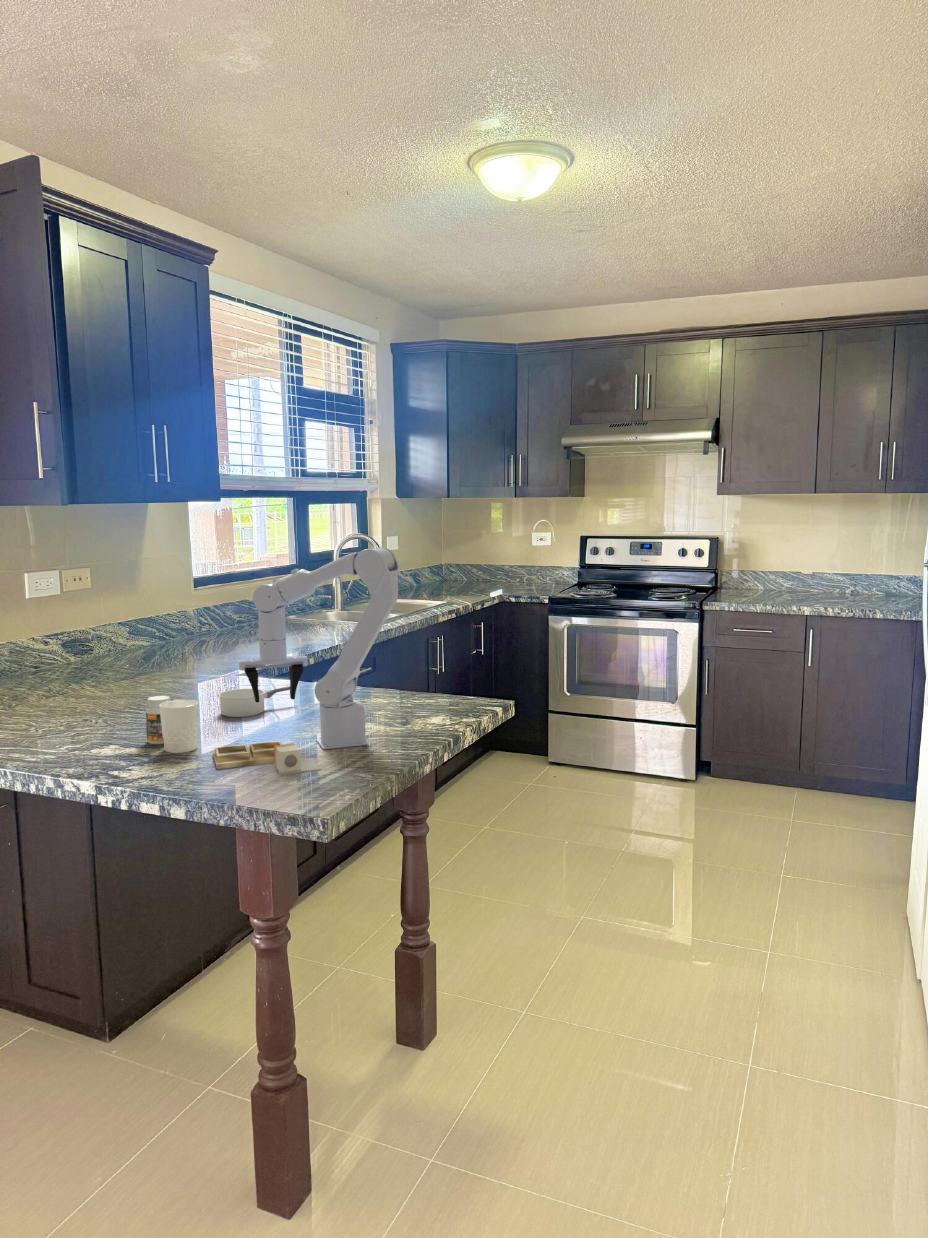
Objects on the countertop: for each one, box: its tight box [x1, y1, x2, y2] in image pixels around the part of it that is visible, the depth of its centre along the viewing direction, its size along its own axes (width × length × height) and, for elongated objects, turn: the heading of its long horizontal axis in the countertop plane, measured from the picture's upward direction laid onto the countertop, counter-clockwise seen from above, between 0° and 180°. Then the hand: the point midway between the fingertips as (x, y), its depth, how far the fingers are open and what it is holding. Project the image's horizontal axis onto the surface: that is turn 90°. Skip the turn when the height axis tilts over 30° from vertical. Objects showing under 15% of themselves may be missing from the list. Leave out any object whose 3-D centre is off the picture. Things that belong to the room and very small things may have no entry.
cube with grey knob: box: [274, 743, 302, 772], centre depth 166 cm, size 4×4×5 cm
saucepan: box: [217, 685, 290, 718], centre depth 214 cm, size 12×20×6 cm, turn 125°
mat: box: [273, 757, 322, 776], centre depth 167 cm, size 8×8×1 cm
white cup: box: [159, 699, 199, 754], centre depth 180 cm, size 8×8×10 cm
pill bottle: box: [145, 695, 171, 745], centre depth 186 cm, size 6×6×10 cm
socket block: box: [212, 740, 283, 770], centre depth 173 cm, size 14×10×2 cm
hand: (274, 700), depth 185 cm, fingers open, 7 cm apart
